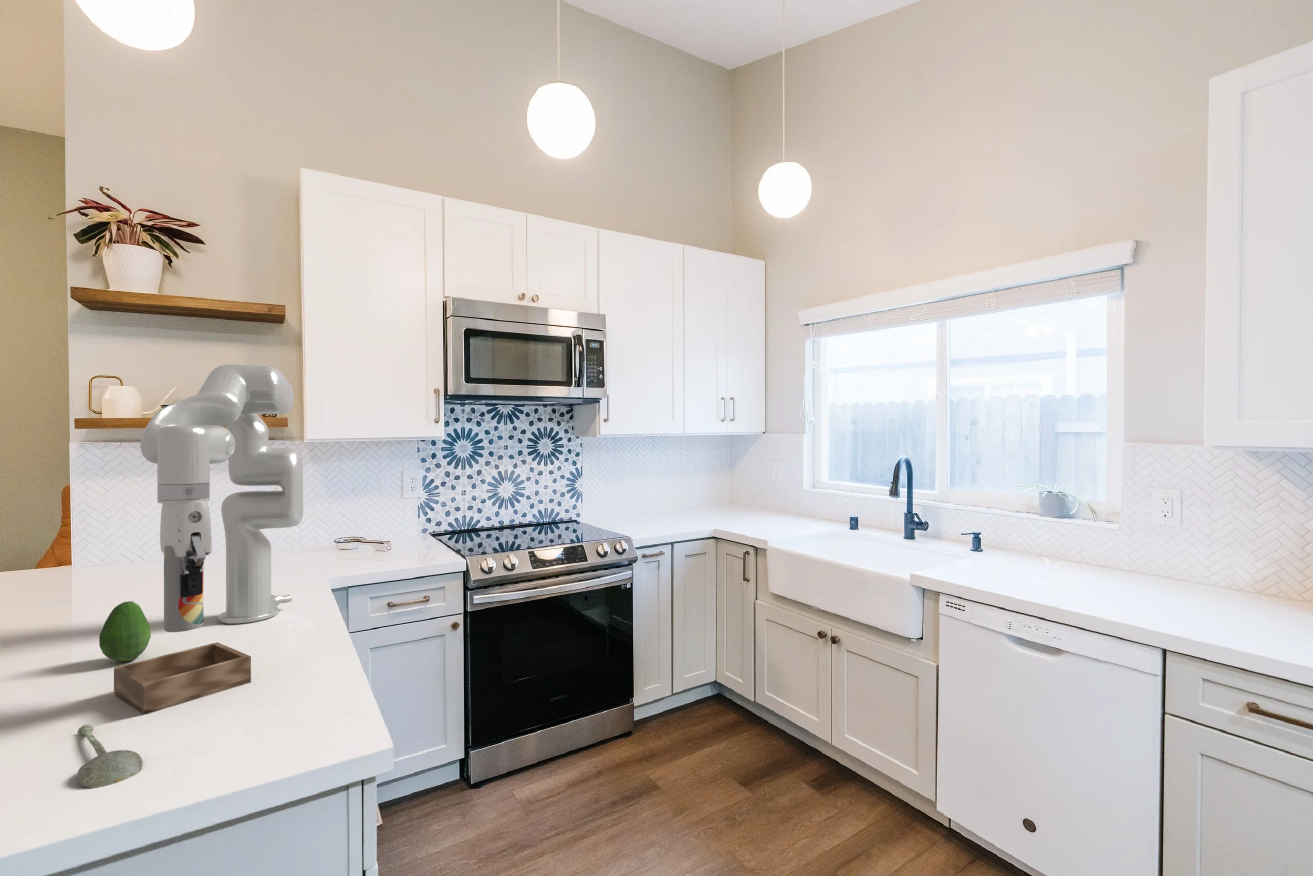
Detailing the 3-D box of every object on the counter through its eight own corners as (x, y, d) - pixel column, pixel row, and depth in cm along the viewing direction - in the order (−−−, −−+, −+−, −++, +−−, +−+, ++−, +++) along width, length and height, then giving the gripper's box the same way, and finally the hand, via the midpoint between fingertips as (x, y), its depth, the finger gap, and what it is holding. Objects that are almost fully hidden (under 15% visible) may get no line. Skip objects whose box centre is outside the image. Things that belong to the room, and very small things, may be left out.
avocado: (143, 651, 131) (143, 594, 130) (156, 659, 126) (156, 600, 126) (93, 662, 124) (93, 603, 124) (105, 671, 120) (105, 609, 119)
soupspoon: (81, 804, 79) (146, 783, 84) (82, 777, 79) (148, 759, 84) (56, 742, 93) (113, 728, 98) (58, 719, 93) (115, 706, 98)
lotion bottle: (210, 625, 113) (210, 516, 113) (175, 634, 108) (175, 520, 108) (192, 621, 115) (192, 514, 115) (156, 630, 110) (157, 518, 110)
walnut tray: (217, 666, 122) (217, 642, 122) (250, 682, 115) (250, 656, 114) (113, 694, 109) (113, 667, 109) (144, 714, 101) (143, 685, 101)
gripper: (228, 494, 110) (228, 595, 110) (188, 489, 119) (188, 582, 119) (178, 498, 104) (178, 605, 104) (140, 492, 113) (140, 590, 113)
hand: (183, 592), depth 111 cm, fingers closed on lotion bottle, 5 cm apart
